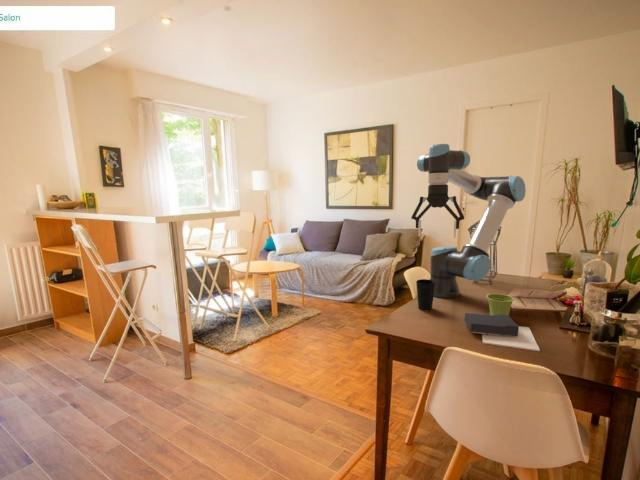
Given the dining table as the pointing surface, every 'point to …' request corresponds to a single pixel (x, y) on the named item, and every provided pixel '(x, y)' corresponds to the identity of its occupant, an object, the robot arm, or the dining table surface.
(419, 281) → the cup
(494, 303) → the plant pot
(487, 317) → the dark navy block
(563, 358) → the dining table surface
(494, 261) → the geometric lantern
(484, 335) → the felt mat
